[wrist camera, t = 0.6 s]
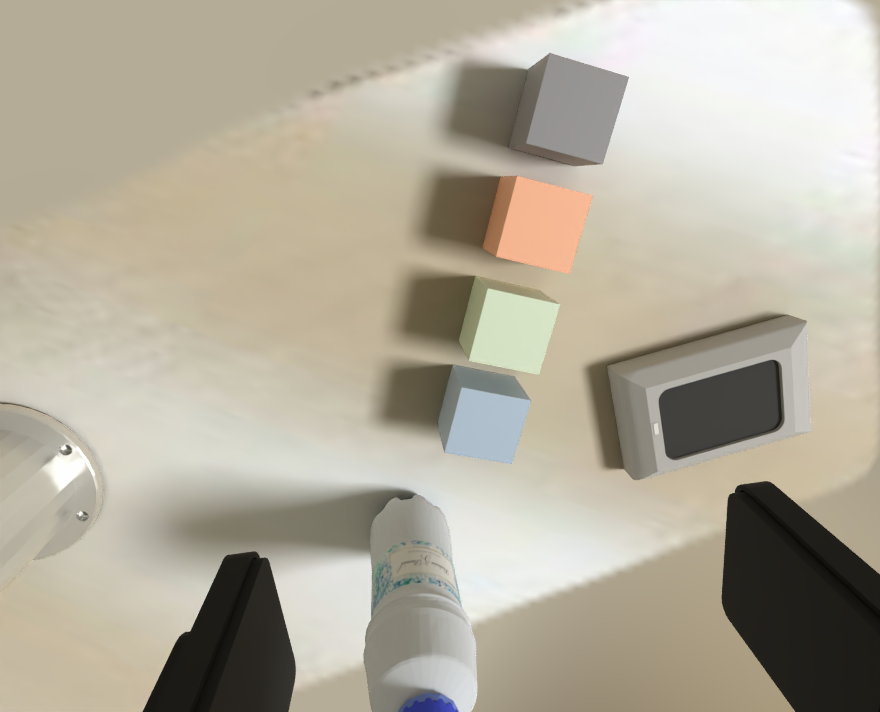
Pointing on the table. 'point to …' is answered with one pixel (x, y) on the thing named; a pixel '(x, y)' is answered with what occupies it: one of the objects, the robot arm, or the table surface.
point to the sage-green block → (507, 325)
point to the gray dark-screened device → (712, 397)
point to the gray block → (567, 111)
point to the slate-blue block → (482, 414)
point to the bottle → (417, 615)
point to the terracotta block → (536, 223)
